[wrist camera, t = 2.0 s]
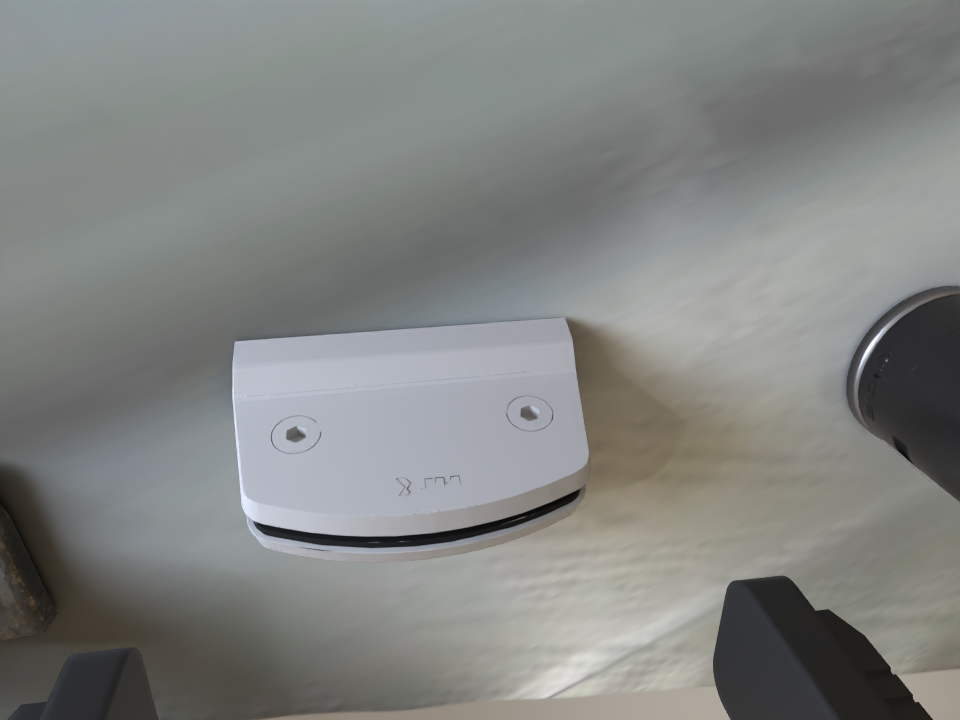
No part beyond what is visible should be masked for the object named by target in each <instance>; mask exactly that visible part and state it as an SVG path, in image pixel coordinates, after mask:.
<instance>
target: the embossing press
mask: <svg viewBox="0 0 960 720" xmlns="http://www.w3.org/2000/svg"><path fill="white" fill-rule="evenodd" d="M56 614H57V612H56V611H55V609H54V607H53V605H52V601H51V599H50V597H49V596H48V594H47V592H46V590H45V588H44V586H43V584H42V581H41V579H40V577H39V575H38V573H37V571H36V569H35V567H34V565H33V563H32V561H31V559H30V557H29V555H28V553H27V551H26V549H25V547H24V544H23V542H22V540H21V538H20V536H19V534H18V531H17V529H16V527H15V525H14V523H13V521H12V519H11V517H10V516H9V515H8V514H7V512H6V511H5V510H4V508H3V507H2V506H1V504H0V642H1V641H6V640H10V639H14V638H20V637H27V636H32V635H36V634H39V633H42V632H44V631H45V630H46V629H47V628H48V626H49V625H50V624H51V623H52V621H53V620H54V618H55V616H56Z"/></svg>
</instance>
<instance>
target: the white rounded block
mask: <svg viewBox="0 0 960 720" xmlns="http://www.w3.org/2000/svg"><path fill="white" fill-rule="evenodd" d="M233 409H234V420H235V432H236V443H237V455H238V466H239V478H240V490H241V501H242V507H243V510H244V512H245V513H246V515H247V523H248V526H249V528H250V530H251V532H252V533H253V534H254V535H255V537H256V538H257V539H258V540H259V541H260V542H261V544H262V545H264V546H265V547H267V548H269V549H271V550H275V551H280V552H285V553H289V554H294V555H299V556H306V557H313V558H319V559H326V560H338V561H350V562H398V561H413V560H424V559H432V558H439V557H446V556H453V555H458V554H462V553H467V552H472V551H476V550H481V549H484V548H488V547H492V546H496V545H499V544H502V543H505V542H508V541H511V540H514V539H517V538H520V537H523V536H526V535H528V534H531V533H533V532H536V531H538V530H541V529H543V528H545V527H548V526H550V525H552V524H554V523H556V522H558V521H560V520H562V519H564V518H566V517H568V516H570V515H571V514H572V513H573V512H574V510H575V509H576V508H577V506H578V505H579V503H580V502H581V501H582V499H583V497H584V495H585V491H586V485H585V483H586V482H587V480H588V479H589V474H590V459H589V449H588V443H587V436H586V430H585V424H584V418H583V411H582V405H581V399H580V392H579V386H578V380H577V373H576V366H575V357H574V347H573V340H572V336H571V333H570V330H569V327H568V325H567V322H566V319H565V318H552V319H538V320H524V321H510V322H496V323H483V324H469V325H455V326H441V327H427V328H413V329H400V330H386V331H372V332H358V333H344V334H330V335H316V336H303V337H289V338H275V339H261V340H247V341H235V347H234V356H233Z"/></svg>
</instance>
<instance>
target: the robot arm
mask: <svg viewBox="0 0 960 720" xmlns="http://www.w3.org/2000/svg"><path fill="white" fill-rule="evenodd" d="M847 399H848V403H849V406H850V409H851V411H852V413H853V415H854V416H855V418H856V419H857V420H858V422H859V423H860V424H861V425H863V426H864V427H865V428H866V429H868V430H869V431H870V432H871V433H872V434H874V435H875V436H876V437H878V438H880V439H882V440H884V441H885V442H887V443H888V444H889V445H890V446H892V447H893V448H894V449H895V450H897V451H898V452H899V453H900V454H901V455H903V456H904V457H905V458H906V459H907V460H908V461H910V462H911V463H912V464H913V465H914V466H916V467H917V468H918V469H919V470H921V471H922V472H923V473H924V474H926V475H927V476H928V477H929V478H931V479H932V480H933V481H934V482H936V483H937V484H938V485H939V486H940V487H942V488H943V489H944V490H945V491H947V492H948V493H949V494H950V495H952V496H953V497H954V498H955V499H957V500H958V501H959V502H960V287H958V286H946V287H938V288H933V289H930V290H926V291H923V292H921V293H918V294H916V295H914V296H911V297H909V298H908V299H906V300H904V301H902V302H901V303H899V304H898V305H896V306H895V307H893V308H892V309H891V310H889V311H888V312H887V313H886V314H885V315H884V316H882V317H881V318H880V319H879V320H878V321H877V322H876V323H875V324H874V326H873V327H872V328H871V329H870V330H869V332H868V333H867V334H866V336H865V337H864V338H863V340H862V341H861V343H860V345H859V346H858V348H857V350H856V352H855V354H854V357H853V359H852V362H851V365H850V368H849V372H848V377H847ZM888 444H887V445H888ZM889 445H888V446H889ZM893 448H892V449H893ZM894 449H893V450H894ZM895 450H894V451H895ZM895 452H896V451H895ZM896 453H897V452H896ZM899 453H898V454H899ZM900 454H899V455H900ZM901 455H900V456H901ZM901 457H902V456H901ZM902 458H903V457H902ZM903 459H904V458H903ZM907 460H906V461H907ZM908 461H907V462H908ZM908 463H909V462H908ZM909 464H910V463H909ZM910 465H911V464H910ZM914 466H913V467H914ZM914 468H915V467H914ZM915 469H916V468H915ZM916 470H917V469H916ZM917 471H918V470H917ZM918 472H919V471H918ZM921 474H922V473H921ZM922 475H923V474H922ZM923 476H924V475H923ZM928 480H929V479H928ZM929 481H930V480H929ZM713 671H714V678H715V683H716V687H717V691H718V694H719V697H720V699H721V702H722V704H723V706H724V708H725V710H726V711H727V714H728V716H729V717H730V719H731V720H933V719H932V718H931V717H930V715H928V713H927V712H926V711H925V709H924V708H923V707H922V706H921V704H920V703H919V702H915V701H914V700H913V695H912V693H911V692H910V691H909V690H908V689H907V687H906V686H905V685H904V684H903V682H902V681H901V680H900V679H899V677H898V676H897V675H896V674H895V675H893V674H892V673H891V668H890V666H889V665H888V664H887V663H886V661H885V660H884V659H883V658H882V656H881V655H880V654H879V653H878V652H877V650H876V649H875V648H874V647H873V645H872V644H871V643H870V642H869V640H868V639H867V638H866V637H865V636H864V635H863V634H862V633H860V632H859V631H858V630H856V629H855V628H853V627H852V626H851V625H849V624H848V623H847V622H845V621H844V620H842V619H841V618H840V617H838V616H837V615H836V614H834V613H833V612H831V611H830V610H829V609H827V610H818V611H815V609H814V608H813V607H812V605H811V604H810V603H809V602H808V600H807V599H806V598H805V596H804V595H803V594H802V592H801V591H800V590H799V588H798V587H797V586H796V585H795V584H794V582H793V581H792V580H790V579H789V578H788V577H786V576H774V577H765V578H756V579H746V580H737V581H732V582H731V583H730V584H729V586H728V588H727V591H726V595H725V601H724V606H723V611H722V616H721V621H720V626H719V631H718V636H717V642H716V647H715V652H714V658H713ZM8 720H158V717H157V713H156V709H155V705H154V701H153V698H152V694H151V690H150V686H149V682H148V678H147V674H146V670H145V666H144V662H143V659H142V655H141V653H140V651H139V650H138V649H137V648H136V647H133V648H124V649H115V650H105V651H96V652H87V653H78V654H73V655H71V656H70V657H69V658H68V659H67V660H66V662H65V663H64V665H63V667H62V669H61V672H60V674H59V676H58V678H57V681H56V683H55V685H54V688H53V690H52V692H51V694H50V697H49V699H48V701H47V702H42V703H33V704H25V705H21V706H20V707H19V708H18V709H17V710H16V711H15V712H14V713H13V714H12V715H11V716H10V717H9V719H8Z"/></svg>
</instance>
